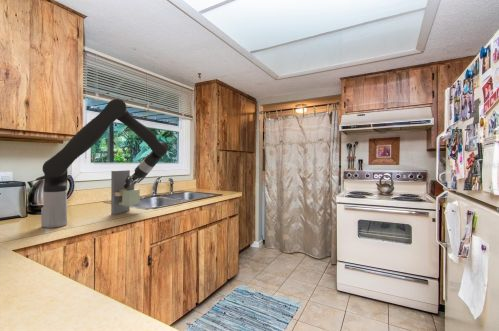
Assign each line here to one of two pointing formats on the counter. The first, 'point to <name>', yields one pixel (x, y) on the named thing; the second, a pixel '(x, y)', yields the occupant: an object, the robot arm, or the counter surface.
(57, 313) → the counter surface
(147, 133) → the robot arm
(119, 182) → the wall board
